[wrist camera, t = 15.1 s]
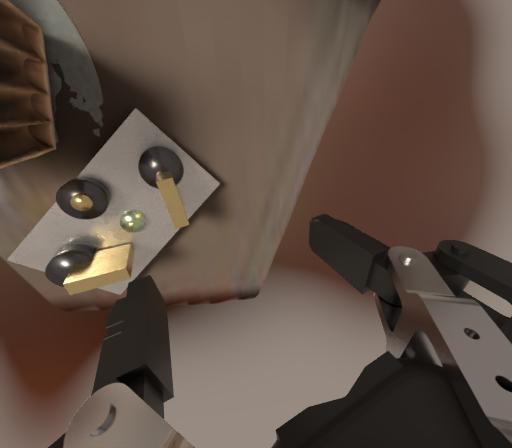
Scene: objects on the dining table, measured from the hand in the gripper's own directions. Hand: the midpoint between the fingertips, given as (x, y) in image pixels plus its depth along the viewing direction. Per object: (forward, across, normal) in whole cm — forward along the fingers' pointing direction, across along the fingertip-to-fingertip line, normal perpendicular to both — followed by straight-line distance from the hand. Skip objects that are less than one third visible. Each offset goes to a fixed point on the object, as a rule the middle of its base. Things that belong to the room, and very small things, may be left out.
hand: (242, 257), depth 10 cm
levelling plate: (+25, +10, +6) cm, 28 cm away
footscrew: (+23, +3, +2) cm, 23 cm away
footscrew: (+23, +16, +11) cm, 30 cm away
